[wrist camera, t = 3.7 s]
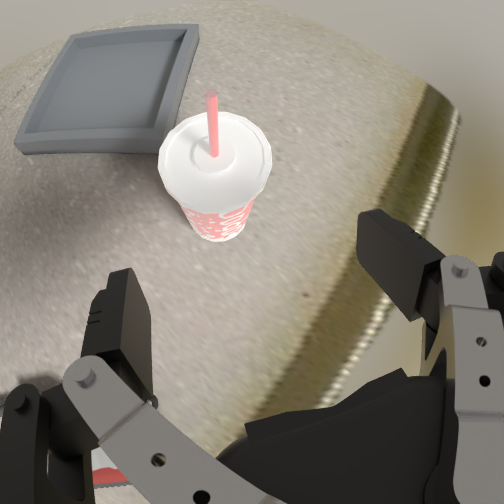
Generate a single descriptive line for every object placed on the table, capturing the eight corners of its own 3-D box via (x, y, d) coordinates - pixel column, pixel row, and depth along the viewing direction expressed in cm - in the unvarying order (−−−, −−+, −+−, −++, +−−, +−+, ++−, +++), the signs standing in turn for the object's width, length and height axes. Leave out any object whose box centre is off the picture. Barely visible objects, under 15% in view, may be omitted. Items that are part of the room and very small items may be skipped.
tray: (24, 154, 25) (13, 143, 22) (77, 48, 28) (71, 35, 26) (167, 154, 26) (162, 138, 23) (199, 40, 29) (198, 24, 27)
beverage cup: (187, 259, 24) (140, 175, 10) (173, 187, 25) (133, 62, 11) (265, 242, 25) (310, 143, 11) (247, 172, 26) (266, 40, 12)
